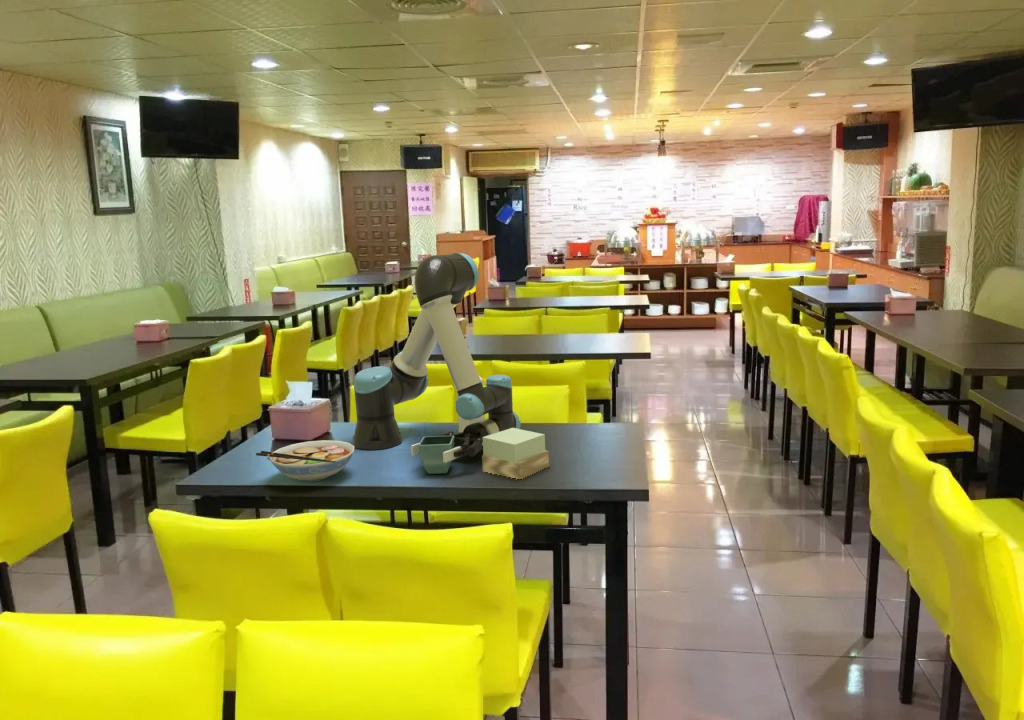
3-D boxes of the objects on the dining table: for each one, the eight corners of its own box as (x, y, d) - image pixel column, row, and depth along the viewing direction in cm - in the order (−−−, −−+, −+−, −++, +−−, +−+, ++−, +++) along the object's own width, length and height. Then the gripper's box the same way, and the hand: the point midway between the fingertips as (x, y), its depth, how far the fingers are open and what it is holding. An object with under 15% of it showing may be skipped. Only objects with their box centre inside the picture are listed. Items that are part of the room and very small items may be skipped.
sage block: (483, 454, 212) (482, 437, 211) (513, 444, 221) (512, 427, 220) (515, 462, 204) (514, 444, 203) (545, 452, 213) (544, 434, 212)
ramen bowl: (376, 469, 218) (374, 441, 217) (325, 496, 198) (322, 466, 196) (305, 461, 229) (303, 434, 227) (249, 486, 208) (246, 456, 207)
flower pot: (425, 466, 219) (423, 435, 217) (456, 465, 218) (454, 435, 217) (420, 477, 210) (418, 445, 209) (452, 476, 210) (450, 444, 208)
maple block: (482, 473, 213) (482, 455, 212) (512, 460, 223) (511, 443, 222) (520, 481, 205) (519, 463, 204) (549, 468, 215) (548, 450, 214)
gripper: (512, 453, 220) (461, 474, 204) (451, 441, 235) (398, 460, 218) (511, 427, 219) (459, 447, 202) (449, 417, 234) (396, 434, 217)
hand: (427, 454), depth 210 cm, fingers closed on flower pot, 11 cm apart
